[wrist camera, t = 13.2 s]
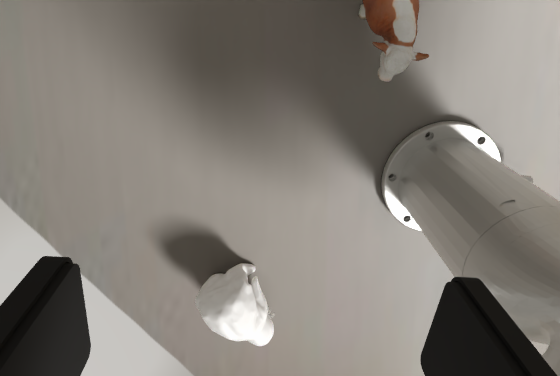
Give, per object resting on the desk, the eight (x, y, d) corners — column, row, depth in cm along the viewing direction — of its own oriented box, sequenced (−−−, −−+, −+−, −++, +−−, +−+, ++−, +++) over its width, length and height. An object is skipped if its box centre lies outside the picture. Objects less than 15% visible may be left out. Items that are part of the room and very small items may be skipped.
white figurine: (244, 299, 37) (293, 367, 43) (243, 243, 45) (285, 308, 51) (186, 323, 38) (242, 386, 44) (194, 264, 46) (242, 325, 52)
